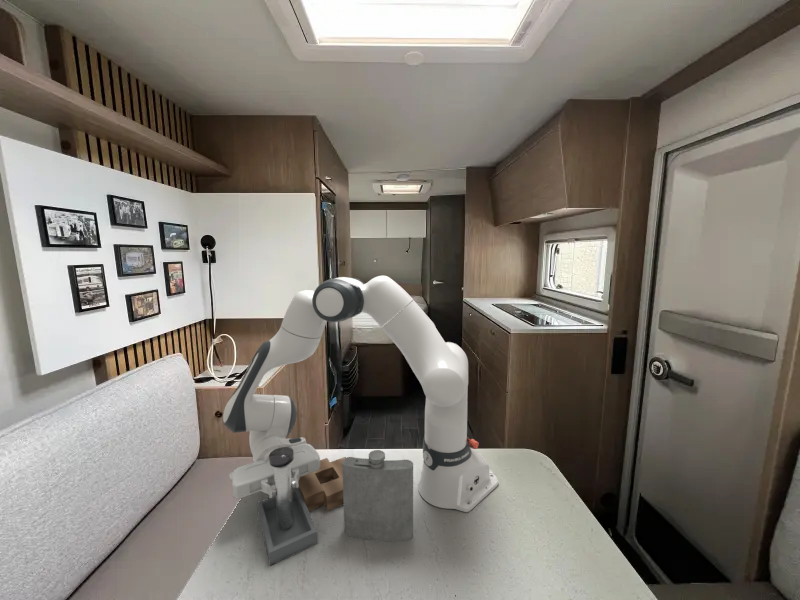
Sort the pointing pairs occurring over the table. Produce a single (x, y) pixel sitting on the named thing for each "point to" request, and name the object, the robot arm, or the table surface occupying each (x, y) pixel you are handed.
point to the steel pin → (283, 485)
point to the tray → (288, 539)
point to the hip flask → (378, 498)
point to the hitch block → (323, 485)
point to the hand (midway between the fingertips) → (284, 490)
